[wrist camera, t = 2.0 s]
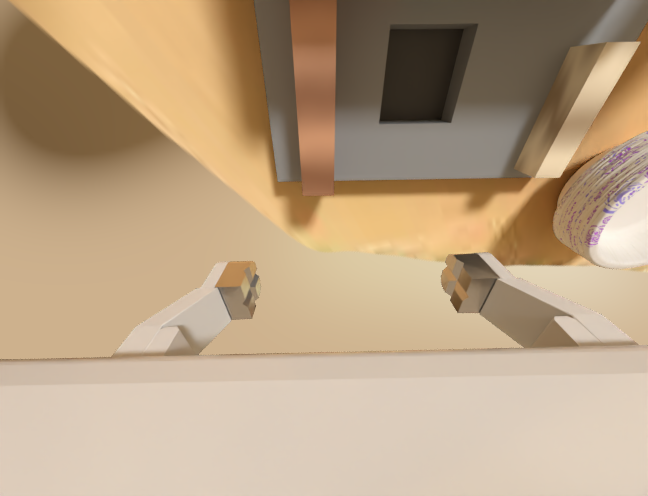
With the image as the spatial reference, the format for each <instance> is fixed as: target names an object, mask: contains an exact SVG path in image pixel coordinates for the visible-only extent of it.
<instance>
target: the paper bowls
mask: <svg viewBox="0 0 648 496" xmlns="http://www.w3.org/2000/svg"><path fill="white" fill-rule="evenodd" d="M553 231H554V234H555V236H556V238H557V239H558V240H559V241H560V242H562V243H563V244H565V245H566V246H567V247H569V248H570V249H572V250H573V251H574V252H576V253H578V254H579V255H581V256H582V257H584V258H585V259H587V260H588V261H590V262H591V263H592V264H594V265H597V266H599V267H603V268H609V269H626V268H633V267H639V266H644V265H648V131H646V132H644V133H641V134H639V135H637V136H635V137H633V138H632V139H630V140H628V141H627V142H625V143H623V144H621V145H618V146H615V147H613V148H611V149H608V150H606V151H604V152H603V153H601V154H599V155H597V156H596V157H594V158H593V159H591V160H590V161H588V162H587V163H586V164H584V165H583V166H582V167H581V168H580V169H579V170H578V171H577V172H576V173H575V174H574V175H573V176H572V177H571V178H570V179H569V180H568V182H567V183H566V184H565V186H564V187H563V189H562V191H561V193H560V195H559V198H558V202H557V209H556V211H555V214H554V217H553Z"/></svg>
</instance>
